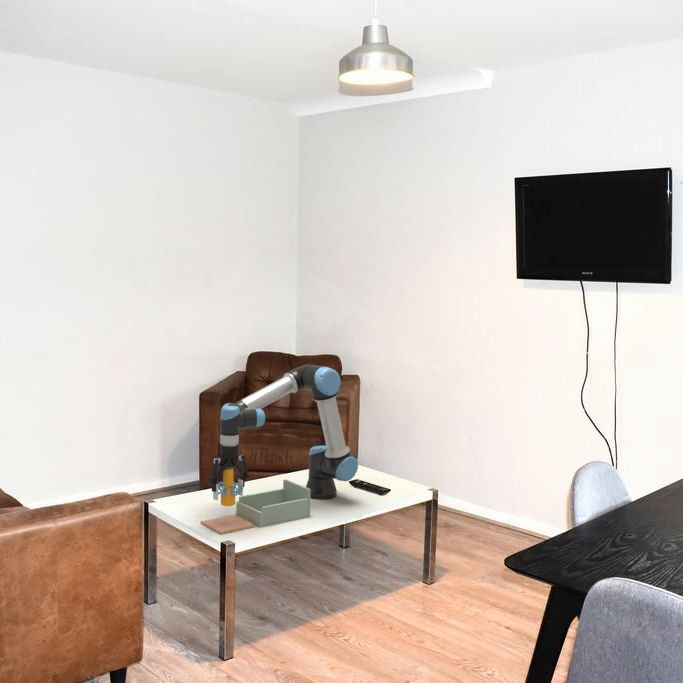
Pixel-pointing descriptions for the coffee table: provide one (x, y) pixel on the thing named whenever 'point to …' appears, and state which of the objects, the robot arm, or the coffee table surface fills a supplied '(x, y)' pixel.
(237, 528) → the terracotta tile
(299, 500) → the box
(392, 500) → the coffee table surface
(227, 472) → the orange tube
